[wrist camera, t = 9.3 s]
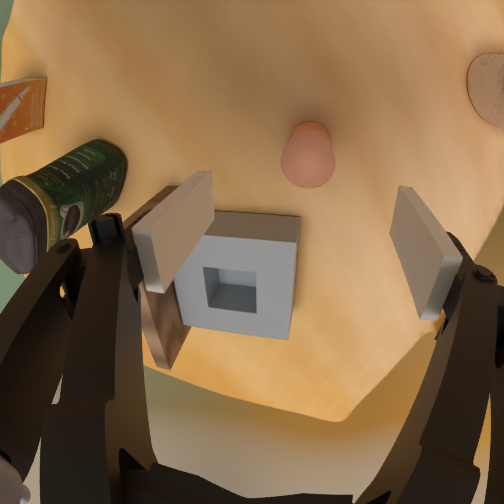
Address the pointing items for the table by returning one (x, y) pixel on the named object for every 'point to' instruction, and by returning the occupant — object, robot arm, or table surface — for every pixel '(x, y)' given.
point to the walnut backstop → (160, 307)
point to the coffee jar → (57, 202)
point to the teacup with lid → (488, 87)
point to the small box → (21, 107)
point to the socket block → (242, 275)
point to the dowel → (308, 156)
